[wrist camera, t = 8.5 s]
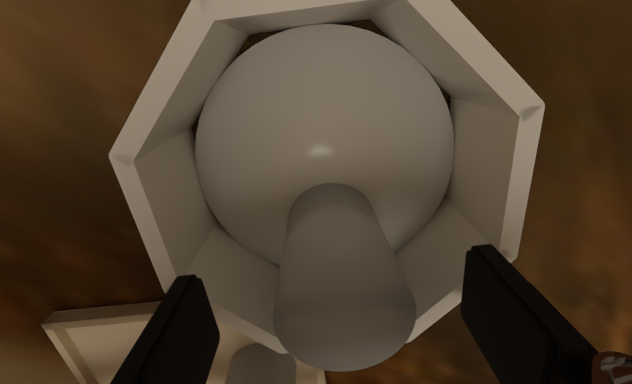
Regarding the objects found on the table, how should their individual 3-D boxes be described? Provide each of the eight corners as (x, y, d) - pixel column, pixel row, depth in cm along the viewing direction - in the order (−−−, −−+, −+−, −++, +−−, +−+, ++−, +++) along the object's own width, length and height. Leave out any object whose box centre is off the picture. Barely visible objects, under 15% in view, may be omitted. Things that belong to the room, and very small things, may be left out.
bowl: (452, 261, 17) (502, 334, 13) (223, 284, 18) (192, 361, 13) (475, -15, 12) (575, -61, 7) (146, 28, 12) (49, 11, 8)
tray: (331, 411, 23) (332, 425, 22) (125, 427, 23) (118, 442, 22) (312, 286, 18) (312, 298, 17) (54, 311, 19) (40, 324, 18)
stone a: (369, 175, 14) (412, 247, 8) (378, 253, 16) (420, 361, 10) (279, 191, 15) (257, 272, 9) (297, 266, 16) (288, 379, 10)
